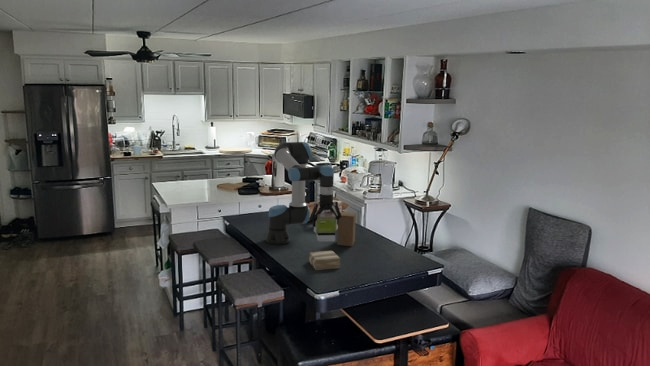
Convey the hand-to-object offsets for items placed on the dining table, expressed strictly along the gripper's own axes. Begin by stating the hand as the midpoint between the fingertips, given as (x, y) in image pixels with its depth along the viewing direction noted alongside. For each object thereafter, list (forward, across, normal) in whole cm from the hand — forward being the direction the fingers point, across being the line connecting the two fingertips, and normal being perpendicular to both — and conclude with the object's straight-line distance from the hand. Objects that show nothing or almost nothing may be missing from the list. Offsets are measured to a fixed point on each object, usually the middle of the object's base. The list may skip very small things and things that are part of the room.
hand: (325, 231), depth 284 cm
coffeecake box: (+20, +37, +68) cm, 80 cm away
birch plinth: (+20, 0, 0) cm, 20 cm away
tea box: (+4, 0, 0) cm, 4 cm away
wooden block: (+20, +30, +30) cm, 47 cm away
